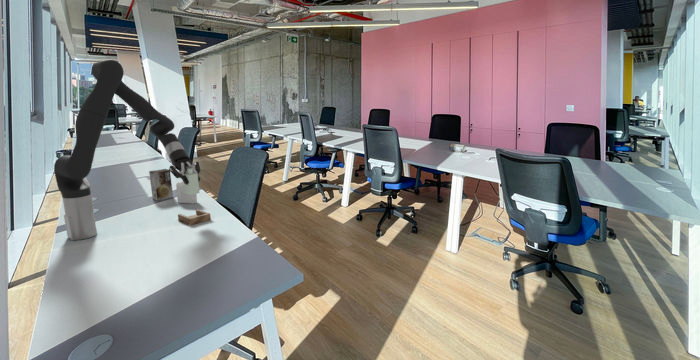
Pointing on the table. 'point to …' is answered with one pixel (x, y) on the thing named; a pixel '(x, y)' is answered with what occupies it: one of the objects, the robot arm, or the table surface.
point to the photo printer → (182, 196)
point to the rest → (194, 218)
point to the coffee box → (161, 184)
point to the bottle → (191, 182)
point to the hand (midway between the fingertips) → (193, 182)
